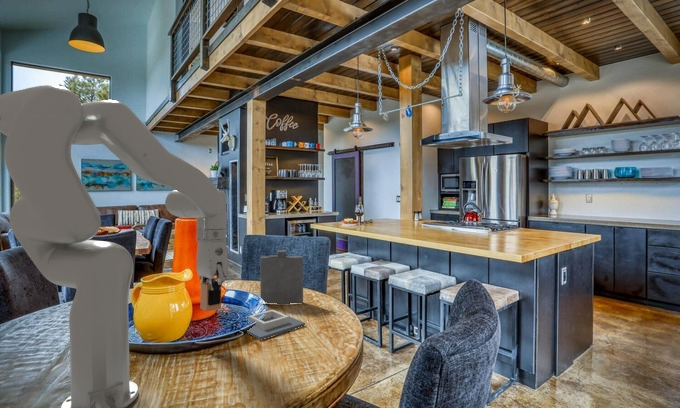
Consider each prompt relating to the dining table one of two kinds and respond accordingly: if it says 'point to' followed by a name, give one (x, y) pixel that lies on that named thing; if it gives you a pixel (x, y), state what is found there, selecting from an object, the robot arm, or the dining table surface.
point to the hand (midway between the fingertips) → (210, 301)
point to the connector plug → (204, 297)
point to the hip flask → (281, 278)
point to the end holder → (272, 324)
